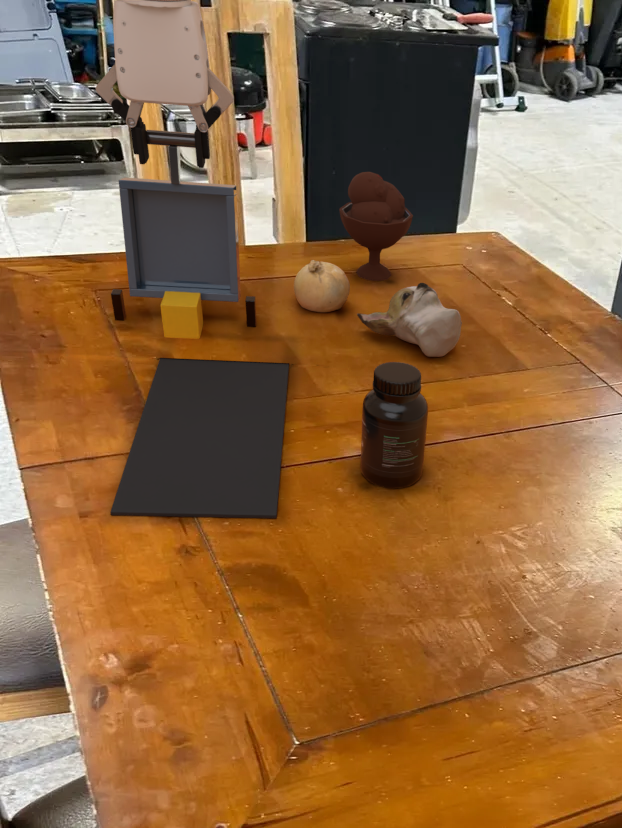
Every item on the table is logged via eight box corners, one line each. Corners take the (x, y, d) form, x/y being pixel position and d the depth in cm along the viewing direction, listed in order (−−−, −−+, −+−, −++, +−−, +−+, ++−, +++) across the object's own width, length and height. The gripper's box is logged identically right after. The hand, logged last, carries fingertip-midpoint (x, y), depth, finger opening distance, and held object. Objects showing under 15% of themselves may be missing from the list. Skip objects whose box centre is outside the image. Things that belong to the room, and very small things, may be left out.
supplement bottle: (360, 454, 100) (363, 355, 92) (420, 457, 100) (429, 358, 92) (360, 488, 94) (363, 386, 87) (423, 491, 95) (433, 390, 87)
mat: (110, 515, 87) (110, 512, 87) (169, 330, 118) (169, 328, 118) (276, 518, 89) (276, 515, 89) (291, 336, 120) (291, 333, 120)
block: (160, 304, 113) (165, 290, 116) (164, 338, 115) (169, 323, 119) (196, 306, 113) (200, 292, 117) (199, 340, 116) (203, 325, 119)
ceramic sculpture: (426, 306, 110) (352, 272, 119) (423, 372, 115) (353, 335, 124) (487, 291, 116) (413, 260, 124) (481, 354, 121) (411, 320, 130)
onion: (296, 294, 131) (295, 246, 126) (350, 298, 132) (351, 250, 127) (292, 317, 125) (290, 267, 120) (348, 321, 126) (349, 271, 121)
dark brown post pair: (256, 331, 121) (254, 301, 118) (115, 324, 118) (110, 293, 115) (256, 326, 122) (255, 296, 119) (117, 319, 119) (112, 288, 117)
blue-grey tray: (240, 296, 122) (237, 304, 117) (135, 291, 120) (127, 298, 115) (234, 134, 112) (230, 136, 108) (119, 125, 110) (110, 127, 106)
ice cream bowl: (380, 293, 134) (385, 189, 125) (324, 272, 139) (324, 169, 129) (422, 275, 141) (429, 175, 131) (367, 256, 146) (370, 157, 136)
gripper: (237, -12, 101) (247, 159, 112) (78, -27, 98) (104, 149, 110) (232, -2, 95) (243, 176, 107) (63, -17, 92) (93, 167, 104)
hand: (173, 161), depth 108 cm, fingers closed on blue-grey tray, 6 cm apart
